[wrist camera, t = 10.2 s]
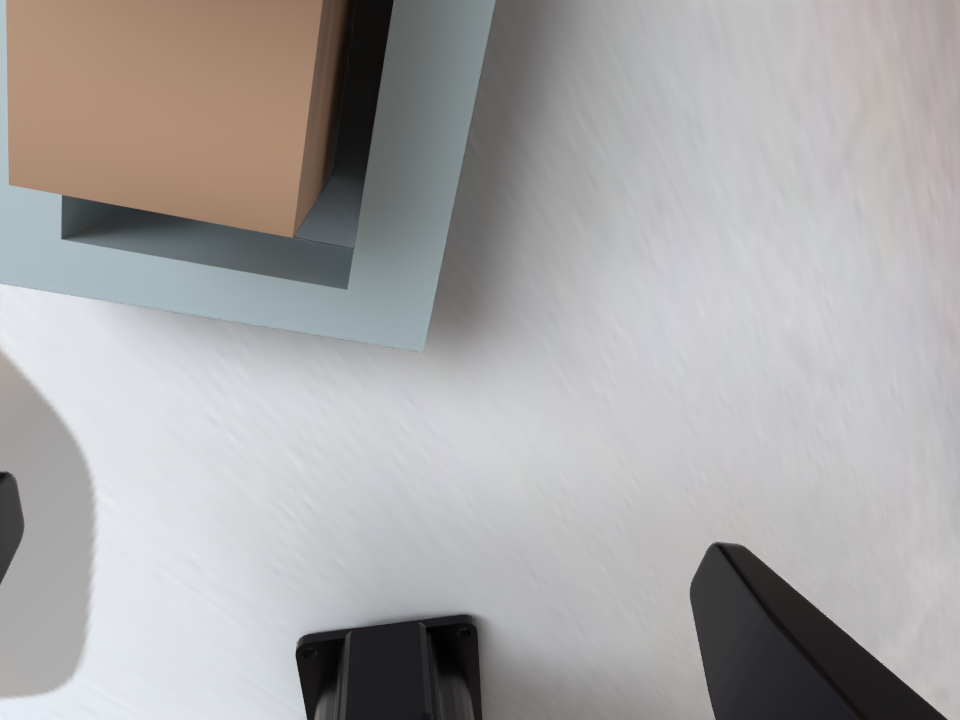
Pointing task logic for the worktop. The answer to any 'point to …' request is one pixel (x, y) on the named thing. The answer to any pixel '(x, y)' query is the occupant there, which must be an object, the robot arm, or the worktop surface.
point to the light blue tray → (273, 258)
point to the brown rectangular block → (179, 104)
